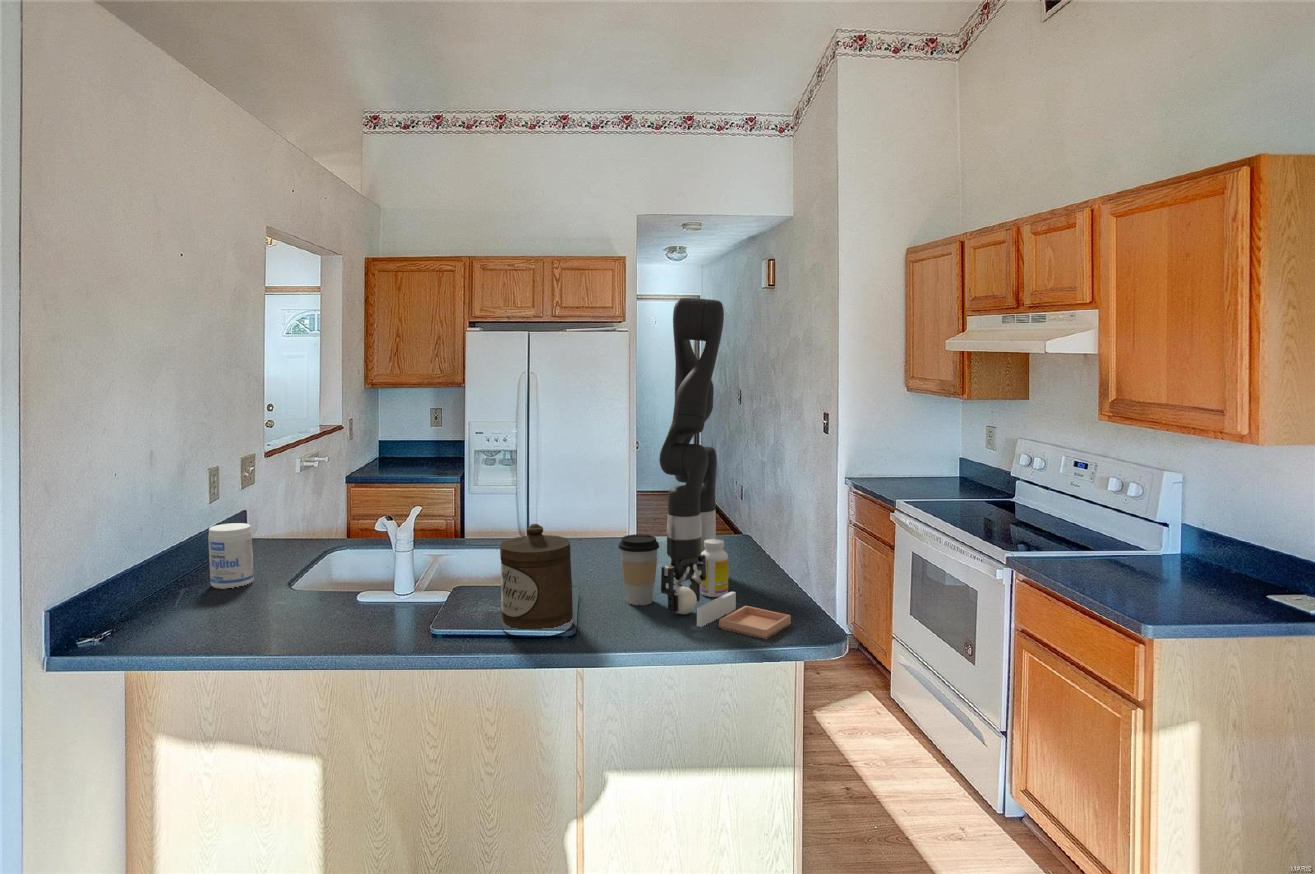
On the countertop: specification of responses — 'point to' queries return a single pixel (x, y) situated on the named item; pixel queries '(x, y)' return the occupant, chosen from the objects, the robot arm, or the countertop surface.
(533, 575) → the wooden container
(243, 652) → the countertop surface
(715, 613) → the wall
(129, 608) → the countertop surface
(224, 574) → the supplement tub
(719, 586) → the supplement bottle
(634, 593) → the coffee cup
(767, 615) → the dish
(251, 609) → the countertop surface
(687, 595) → the ball
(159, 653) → the countertop surface
